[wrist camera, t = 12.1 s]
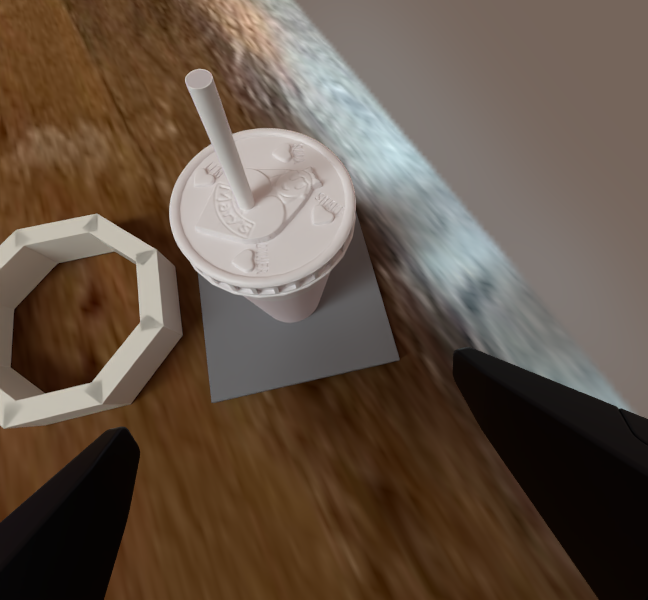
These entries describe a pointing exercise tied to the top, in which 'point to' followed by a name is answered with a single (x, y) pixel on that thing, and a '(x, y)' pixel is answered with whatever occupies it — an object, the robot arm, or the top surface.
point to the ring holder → (130, 359)
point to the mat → (297, 332)
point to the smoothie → (262, 210)
